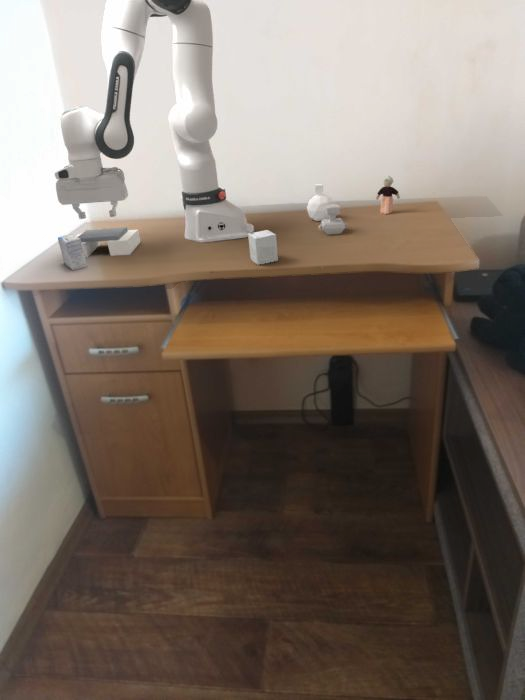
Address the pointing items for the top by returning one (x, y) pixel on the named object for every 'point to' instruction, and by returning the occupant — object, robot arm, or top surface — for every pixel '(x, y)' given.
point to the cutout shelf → (110, 240)
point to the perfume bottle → (319, 204)
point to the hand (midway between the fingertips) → (98, 217)
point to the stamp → (332, 221)
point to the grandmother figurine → (387, 195)
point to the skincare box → (263, 247)
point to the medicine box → (72, 251)
